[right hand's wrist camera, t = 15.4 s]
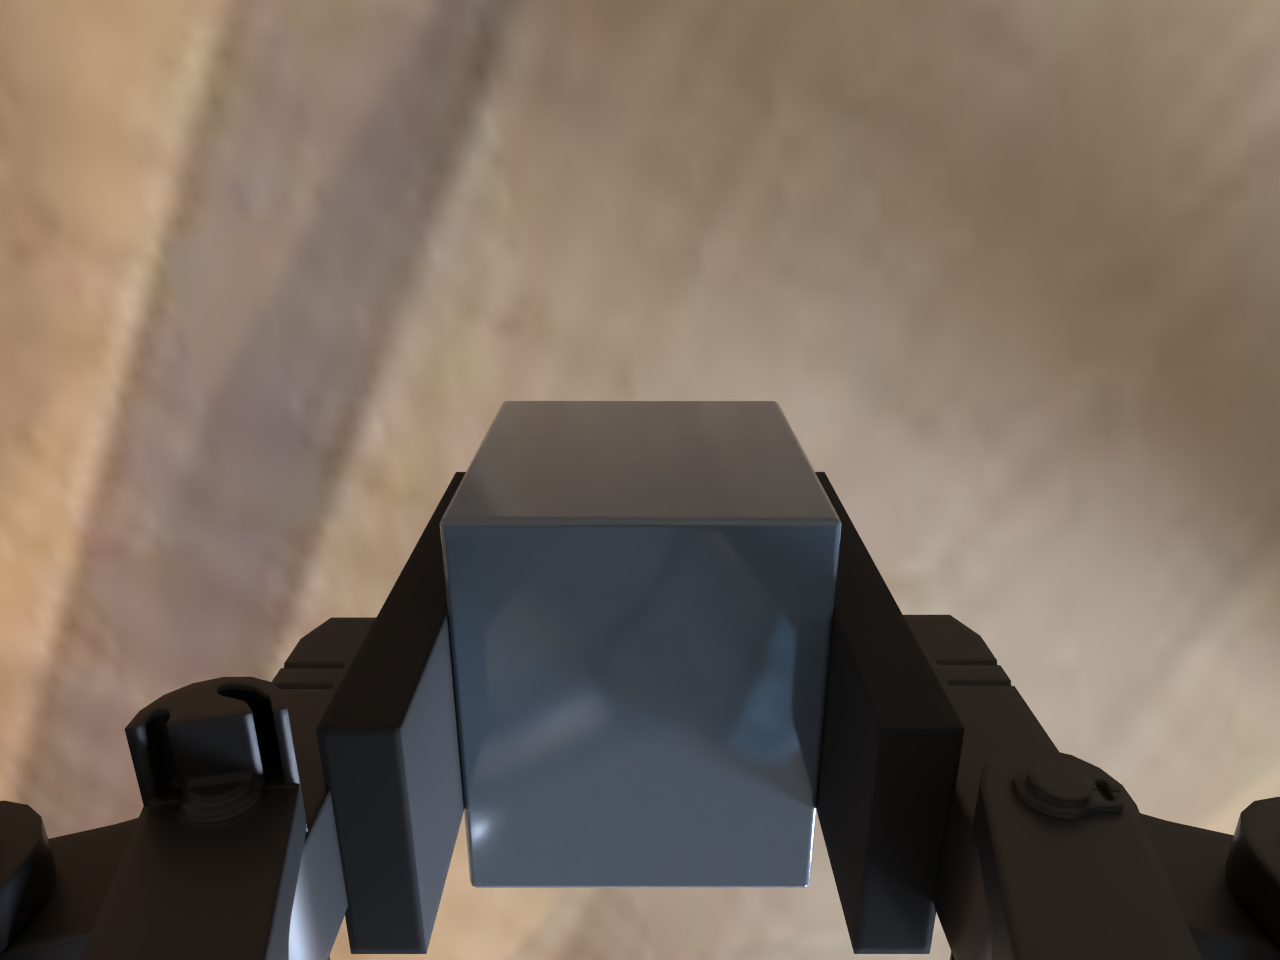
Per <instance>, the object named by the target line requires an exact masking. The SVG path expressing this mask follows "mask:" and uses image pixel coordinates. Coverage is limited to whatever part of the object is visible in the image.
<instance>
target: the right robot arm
mask: <svg viewBox="0 0 1280 960" xmlns="http://www.w3.org/2000/svg"><path fill="white" fill-rule="evenodd" d="M465 474H466V472H456V474H455V475H454V477H453V479H452V481H451V483H450V484H449V486H448V488H447V490H446V492H445V494H444V495H443V497H442V499H441V501H440V503H439V505H438V506H437V508H436V510H435V512H434V514H433V516H432V517H431V519H430V521H429V523H428V525H427V526H426V528H425V530H424V532H423V534H422V536H421V537H420V539H419V541H418V543H417V545H416V547H415V548H414V550H413V552H412V554H411V556H410V558H409V559H408V561H407V563H406V565H405V567H404V568H403V570H402V572H401V574H400V576H399V578H398V579H397V581H396V583H395V585H394V587H393V589H392V590H391V592H390V594H389V596H388V598H387V600H386V601H385V603H384V605H383V607H382V609H381V611H380V612H379V614H378V616H377V618H330V619H329V620H327V621H326V622H324V623H323V624H322V625H320V626H319V627H317V628H316V629H314V630H313V631H311V632H310V633H309V634H307V635H306V636H304V637H303V638H301V639H300V641H299V642H298V644H297V645H296V647H295V648H294V650H293V651H292V653H291V654H290V656H289V657H288V659H287V660H286V662H285V663H284V668H281V669H280V671H279V672H278V674H277V675H276V676H275V678H274V679H273V681H272V682H269V681H265V680H261V679H257V678H253V677H221V678H217V679H212V680H207V681H202V682H197V683H193V684H190V685H188V686H185V687H183V688H180V689H178V690H175V691H173V692H170V693H168V694H165V695H163V696H162V697H160V698H159V699H157V700H156V701H154V702H153V703H151V704H150V705H148V706H147V707H145V708H143V709H142V710H140V711H139V712H138V714H137V715H136V716H135V717H134V718H133V720H132V721H131V722H130V723H129V724H128V726H127V727H126V728H125V732H126V736H127V740H128V744H129V748H130V752H131V756H132V760H133V764H134V768H135V772H136V776H137V780H138V784H139V788H140V792H141V796H142V800H143V804H144V807H143V809H142V812H141V814H140V816H139V818H136V819H132V820H129V821H125V822H122V823H119V824H115V825H110V826H106V827H101V828H97V829H92V830H88V831H83V832H78V833H74V834H69V835H65V836H60V837H56V838H51V839H48V838H47V835H46V831H45V828H44V825H43V821H42V818H41V816H40V815H39V814H37V813H36V812H35V811H34V810H33V809H32V808H31V807H30V806H28V805H25V804H19V803H14V802H8V801H0V960H330V956H329V955H330V952H331V949H332V947H333V944H334V942H335V939H336V936H337V934H338V931H339V928H340V926H341V923H342V921H343V918H344V915H345V917H346V924H347V930H348V937H349V943H350V949H351V954H426V953H427V949H428V945H429V942H430V938H431V934H432V930H433V926H434V922H435V919H436V915H437V911H438V907H439V903H440V900H441V896H442V892H443V888H444V884H445V880H446V877H447V873H448V869H449V865H450V861H451V857H452V854H453V850H454V846H455V842H456V838H457V834H458V831H459V827H460V823H461V819H462V815H463V811H464V797H463V785H462V773H461V762H460V750H459V738H458V727H457V715H456V703H455V692H454V680H453V668H452V657H451V645H450V633H449V622H448V611H447V602H446V591H445V579H444V567H443V556H442V544H441V532H440V522H441V519H442V517H443V515H444V513H445V511H446V509H447V508H448V506H449V504H450V502H451V500H452V498H453V496H454V494H455V492H456V491H457V489H458V487H459V485H460V483H461V481H462V479H463V477H464V475H465ZM815 474H816V475H817V477H818V479H819V481H820V483H821V485H822V487H823V489H824V490H825V492H826V494H827V496H828V498H829V500H830V502H831V504H832V506H833V507H834V509H835V511H836V513H837V515H838V517H839V519H840V521H841V536H840V547H839V558H838V570H837V581H836V592H835V604H834V611H833V621H832V632H831V644H830V655H829V666H828V678H827V689H826V701H825V712H824V724H823V735H822V747H821V758H820V769H819V781H818V792H817V804H816V809H817V813H818V817H819V821H820V824H821V828H822V832H823V836H824V840H825V844H826V847H827V851H828V855H829V859H830V863H831V866H832V870H833V874H834V878H835V882H836V886H837V889H838V893H839V897H840V901H841V905H842V909H843V912H844V916H845V920H846V924H847V928H848V932H849V935H850V939H851V943H852V947H853V951H854V954H929V953H930V947H931V941H932V934H933V928H934V922H935V915H936V912H937V914H938V917H939V920H940V922H941V925H942V927H943V930H944V933H945V935H946V938H947V940H948V943H949V946H950V948H951V956H950V960H1280V797H1275V798H1269V799H1264V800H1258V801H1254V802H1253V803H1252V804H1250V805H1249V806H1248V807H1247V808H1246V809H1245V810H1244V811H1242V812H1241V814H1240V818H1239V821H1238V824H1237V827H1236V831H1235V834H1234V835H1229V834H1225V833H1220V832H1215V831H1211V830H1206V829H1202V828H1197V827H1192V826H1188V825H1183V824H1179V823H1174V822H1169V821H1165V820H1162V819H1158V818H1155V817H1151V816H1148V815H1144V814H1141V813H1140V812H1139V810H1138V808H1137V805H1136V804H1135V802H1134V801H1133V800H1132V798H1131V797H1130V795H1129V794H1128V793H1127V791H1126V790H1125V788H1124V787H1123V786H1122V785H1121V784H1120V783H1119V782H1117V781H1116V780H1115V779H1113V778H1112V777H1111V776H1109V775H1108V774H1107V773H1105V772H1104V771H1103V770H1102V769H1100V768H1098V767H1096V766H1094V765H1092V764H1090V763H1087V762H1085V761H1083V760H1081V759H1079V758H1077V757H1074V756H1072V755H1068V754H1064V753H1060V752H1059V751H1058V750H1057V748H1056V747H1055V745H1054V744H1053V742H1052V741H1051V739H1050V738H1049V736H1048V735H1047V733H1046V732H1045V730H1044V729H1043V727H1042V726H1041V725H1040V723H1039V722H1038V720H1037V719H1036V717H1035V716H1034V714H1033V713H1032V711H1031V710H1030V708H1029V707H1028V705H1027V704H1026V702H1025V701H1024V700H1023V698H1022V697H1021V695H1020V694H1019V692H1018V691H1017V689H1016V688H1015V686H1011V680H1010V679H1009V677H1008V676H1007V675H1006V673H1005V672H1004V670H1003V669H1002V667H1001V666H1000V665H997V660H996V658H995V657H994V655H993V654H992V653H991V651H990V650H989V648H988V647H987V645H986V644H985V642H984V641H983V639H982V638H981V636H980V635H978V634H977V633H975V632H974V631H972V630H971V629H969V628H968V627H967V626H965V625H964V624H962V623H961V622H959V621H958V620H956V619H955V618H954V617H952V616H951V615H902V613H901V611H900V609H899V607H898V606H897V604H896V602H895V600H894V598H893V596H892V595H891V593H890V591H889V589H888V587H887V586H886V584H885V582H884V580H883V578H882V576H881V575H880V573H879V571H878V569H877V567H876V565H875V564H874V562H873V560H872V558H871V556H870V555H869V553H868V551H867V549H866V547H865V545H864V544H863V542H862V540H861V538H860V536H859V534H858V533H857V531H856V529H855V527H854V525H853V523H852V522H851V520H850V518H849V516H848V514H847V513H846V511H845V509H844V507H843V505H842V503H841V502H840V500H839V498H838V496H837V494H836V492H835V491H834V489H833V487H832V485H831V483H830V481H829V480H828V478H827V476H826V474H825V472H815Z"/></svg>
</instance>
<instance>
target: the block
mask: <svg viewBox="0 0 1280 960" xmlns="http://www.w3.org/2000/svg"><path fill="white" fill-rule="evenodd" d="M440 532H441V544H442V556H443V567H444V579H445V591H446V602H447V611H448V622H449V633H450V645H451V657H452V668H453V680H454V692H455V703H456V715H457V727H458V738H459V750H460V762H461V773H462V785H463V797H464V813H465V825H466V836H467V848H468V860H469V871H470V881H471V884H472V886H474V887H481V888H805V887H807V886H808V885H809V882H810V876H811V865H812V854H813V842H814V831H815V820H816V804H817V792H818V781H819V769H820V758H821V747H822V735H823V724H824V712H825V701H826V689H827V678H828V666H829V655H830V644H831V632H832V621H833V611H834V604H835V592H836V581H837V570H838V558H839V547H840V536H841V521H840V519H839V517H838V515H837V513H836V511H835V509H834V507H833V506H832V504H831V502H830V500H829V498H828V496H827V494H826V492H825V490H824V489H823V487H822V485H821V483H820V481H819V479H818V477H817V475H816V474H815V472H814V470H813V468H812V466H811V464H810V462H809V460H808V459H807V457H806V455H805V453H804V451H803V449H802V447H801V445H800V443H799V442H798V440H797V438H796V436H795V434H794V432H793V430H792V428H791V427H790V425H789V423H788V421H787V419H786V417H785V415H784V413H783V412H782V410H781V408H780V406H779V404H778V403H777V402H774V401H506V402H504V403H503V404H502V406H501V407H500V409H499V411H498V413H497V415H496V417H495V419H494V421H493V423H492V424H491V426H490V428H489V430H488V432H487V434H486V436H485V438H484V440H483V441H482V443H481V445H480V447H479V449H478V451H477V453H476V455H475V457H474V458H473V460H472V462H471V464H470V466H469V468H468V470H467V472H466V474H465V475H464V477H463V479H462V481H461V483H460V485H459V487H458V489H457V491H456V492H455V494H454V496H453V498H452V500H451V502H450V504H449V506H448V508H447V509H446V511H445V513H444V515H443V517H442V519H441V522H440Z"/></svg>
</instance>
